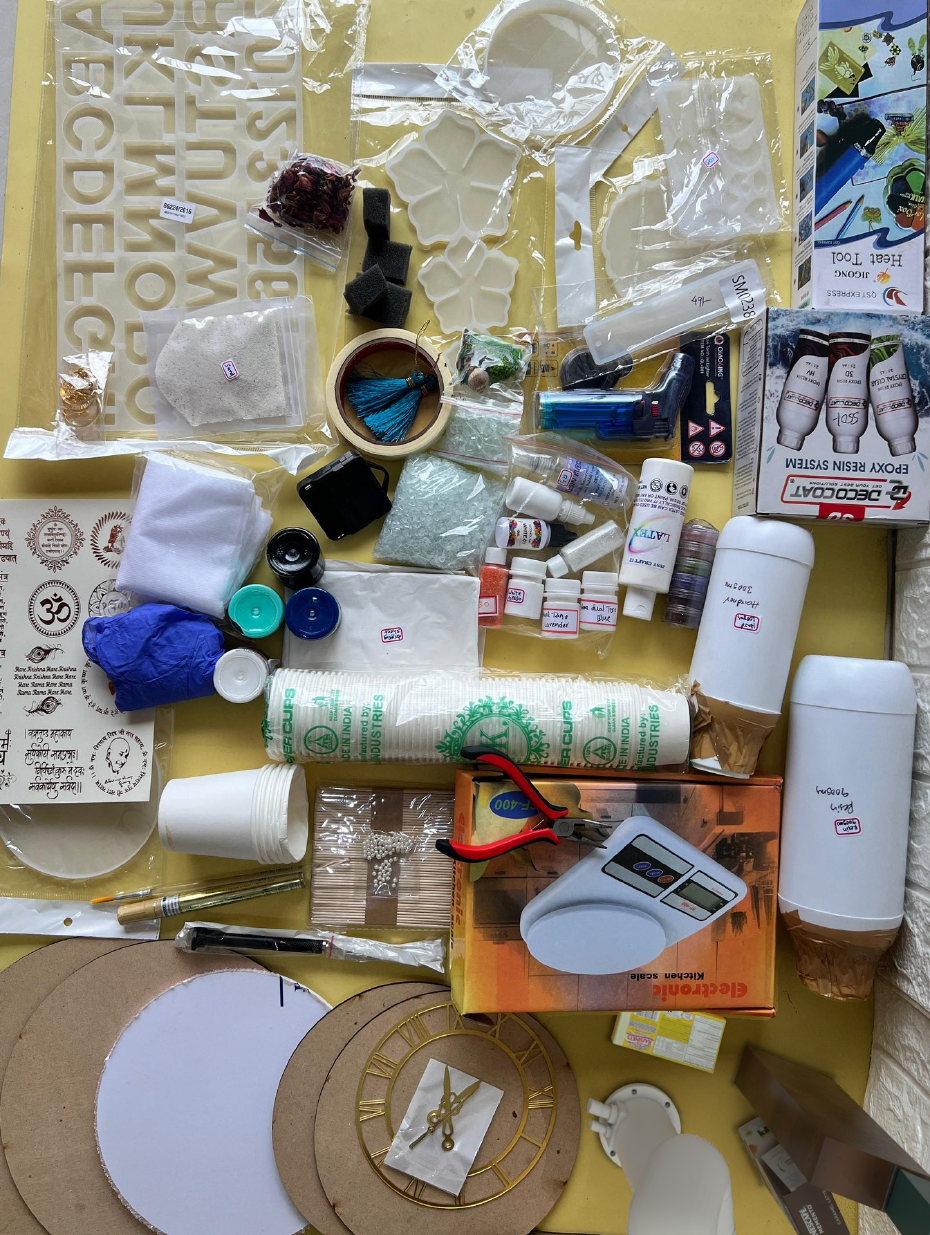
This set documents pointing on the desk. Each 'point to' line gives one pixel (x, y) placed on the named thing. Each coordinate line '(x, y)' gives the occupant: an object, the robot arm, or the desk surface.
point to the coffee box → (791, 1185)
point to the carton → (910, 1204)
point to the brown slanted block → (824, 1130)
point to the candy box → (672, 1036)
